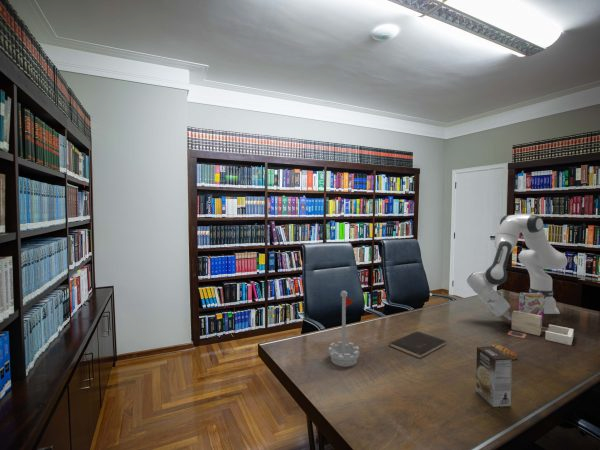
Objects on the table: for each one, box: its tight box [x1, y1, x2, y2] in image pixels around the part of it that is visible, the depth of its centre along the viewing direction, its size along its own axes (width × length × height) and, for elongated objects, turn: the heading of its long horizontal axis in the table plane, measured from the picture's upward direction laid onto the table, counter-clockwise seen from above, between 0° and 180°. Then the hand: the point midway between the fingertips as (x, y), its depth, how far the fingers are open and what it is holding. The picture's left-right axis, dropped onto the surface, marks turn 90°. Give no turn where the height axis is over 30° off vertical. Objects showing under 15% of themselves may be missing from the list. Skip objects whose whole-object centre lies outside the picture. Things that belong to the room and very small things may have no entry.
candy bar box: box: [518, 292, 545, 324], centre depth 173 cm, size 11×5×16 cm, turn 84°
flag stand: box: [328, 290, 360, 367], centre depth 128 cm, size 13×13×30 cm
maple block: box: [511, 310, 543, 337], centre depth 160 cm, size 6×12×9 cm, turn 44°
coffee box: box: [475, 345, 513, 408], centre depth 101 cm, size 9×6×16 cm
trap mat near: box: [507, 330, 528, 339], centre depth 155 cm, size 7×7×1 cm
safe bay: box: [545, 324, 575, 346], centre depth 150 cm, size 14×10×4 cm
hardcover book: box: [389, 330, 447, 359], centre depth 143 cm, size 16×23×2 cm
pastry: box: [492, 343, 518, 361], centre depth 132 cm, size 9×7×4 cm
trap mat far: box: [541, 326, 549, 333], centre depth 162 cm, size 7×7×1 cm
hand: (511, 319), depth 165 cm, fingers closed
